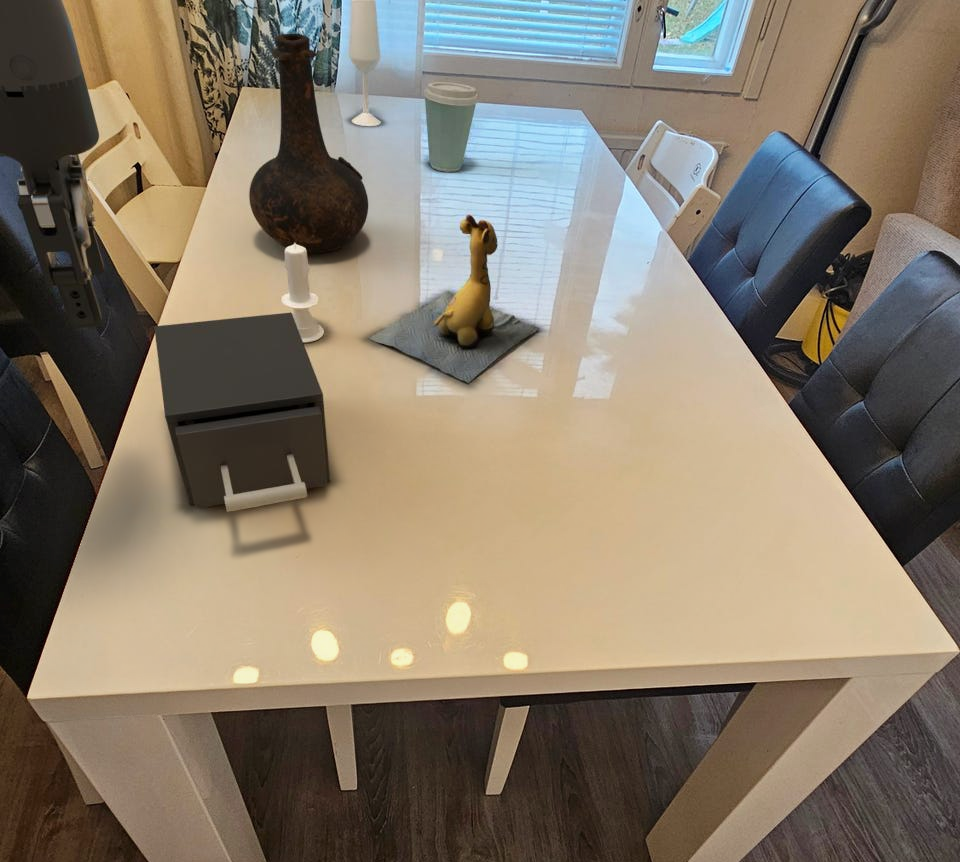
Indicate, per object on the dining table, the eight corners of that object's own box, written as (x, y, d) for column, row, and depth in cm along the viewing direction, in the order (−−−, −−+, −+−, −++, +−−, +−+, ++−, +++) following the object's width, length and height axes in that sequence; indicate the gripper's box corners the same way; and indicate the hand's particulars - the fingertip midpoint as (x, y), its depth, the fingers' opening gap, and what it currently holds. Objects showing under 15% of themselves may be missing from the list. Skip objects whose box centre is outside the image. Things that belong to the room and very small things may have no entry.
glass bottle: (385, 257, 112) (384, 50, 93) (274, 272, 105) (247, 53, 86) (345, 214, 123) (336, 21, 103) (242, 226, 116) (212, 21, 96)
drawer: (340, 523, 67) (335, 450, 61) (202, 550, 63) (181, 476, 57) (299, 403, 81) (291, 334, 74) (182, 420, 77) (164, 348, 70)
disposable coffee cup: (418, 157, 147) (420, 75, 137) (469, 159, 149) (474, 78, 139) (424, 175, 140) (427, 89, 130) (477, 177, 142) (484, 93, 132)
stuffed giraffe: (540, 329, 99) (553, 214, 88) (468, 387, 88) (471, 264, 77) (448, 295, 105) (449, 184, 94) (370, 346, 94) (360, 227, 83)
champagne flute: (349, 124, 160) (344, -6, 143) (354, 116, 164) (349, -11, 148) (378, 127, 160) (377, -3, 143) (382, 119, 165) (381, -8, 148)
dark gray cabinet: (330, 480, 73) (323, 393, 66) (189, 505, 69) (164, 415, 61) (300, 395, 83) (291, 312, 76) (176, 412, 79) (154, 326, 72)
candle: (283, 322, 95) (272, 234, 87) (323, 322, 96) (317, 235, 88) (282, 343, 91) (270, 253, 83) (324, 343, 92) (317, 253, 84)
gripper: (-35, 35, 49) (43, 261, 60) (-73, 95, 39) (28, 349, 51) (85, 40, 51) (139, 256, 62) (76, 97, 42) (141, 340, 53)
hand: (89, 298), depth 56 cm, fingers open, 8 cm apart
